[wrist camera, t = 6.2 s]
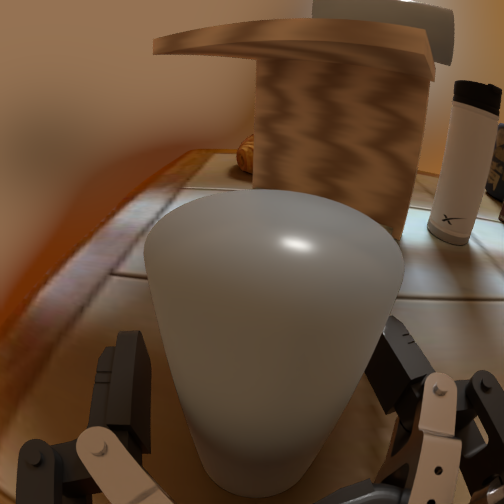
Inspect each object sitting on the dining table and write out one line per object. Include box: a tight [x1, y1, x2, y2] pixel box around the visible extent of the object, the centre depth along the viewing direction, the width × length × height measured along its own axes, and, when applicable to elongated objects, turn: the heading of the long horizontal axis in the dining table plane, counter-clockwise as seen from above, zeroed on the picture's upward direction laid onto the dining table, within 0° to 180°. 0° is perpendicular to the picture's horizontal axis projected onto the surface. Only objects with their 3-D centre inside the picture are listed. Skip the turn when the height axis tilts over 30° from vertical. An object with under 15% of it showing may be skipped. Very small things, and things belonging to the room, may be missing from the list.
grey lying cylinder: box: [312, 0, 454, 66], centre depth 19 cm, size 6×6×12 cm
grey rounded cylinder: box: [144, 189, 404, 498], centre depth 10 cm, size 6×6×12 cm
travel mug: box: [427, 80, 502, 245], centre depth 28 cm, size 6×7×20 cm
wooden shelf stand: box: [153, 18, 436, 240], centre depth 26 cm, size 21×17×20 cm
